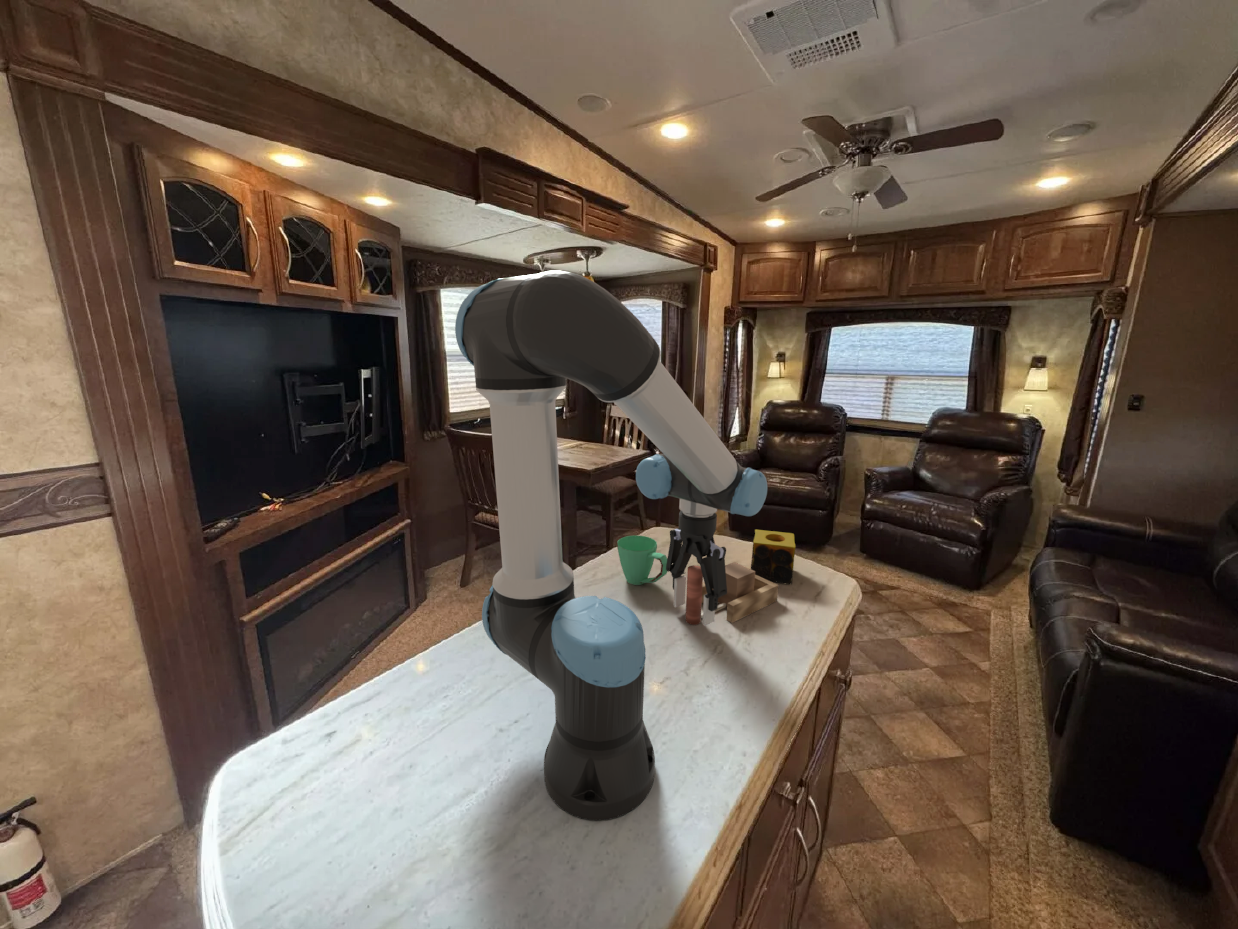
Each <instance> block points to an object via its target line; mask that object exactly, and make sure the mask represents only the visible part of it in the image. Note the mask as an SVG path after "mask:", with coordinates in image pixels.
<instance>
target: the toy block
mask: <svg viewBox="0 0 1238 929" xmlns="http://www.w3.org/2000/svg"><path fill="white" fill-rule="evenodd" d="M754 533H755V534H754V537H753V541H752V550H751V551H752V553H751V561H750V562H751V564H750V569H751V570H753V571H755V575H757V576H760V577H762V578H764V579H766V580H768V581H771V582H773V583H775V584H778V583H779V584H784V583H786V585H792V584H793V577H794V576H793V575H794V564H795V552H796V543H795V542H796V541H795V534H794V533H792V532H782V531H775V530H773V531H771V530H766V529H765V530H763V529H754Z"/></svg>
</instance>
